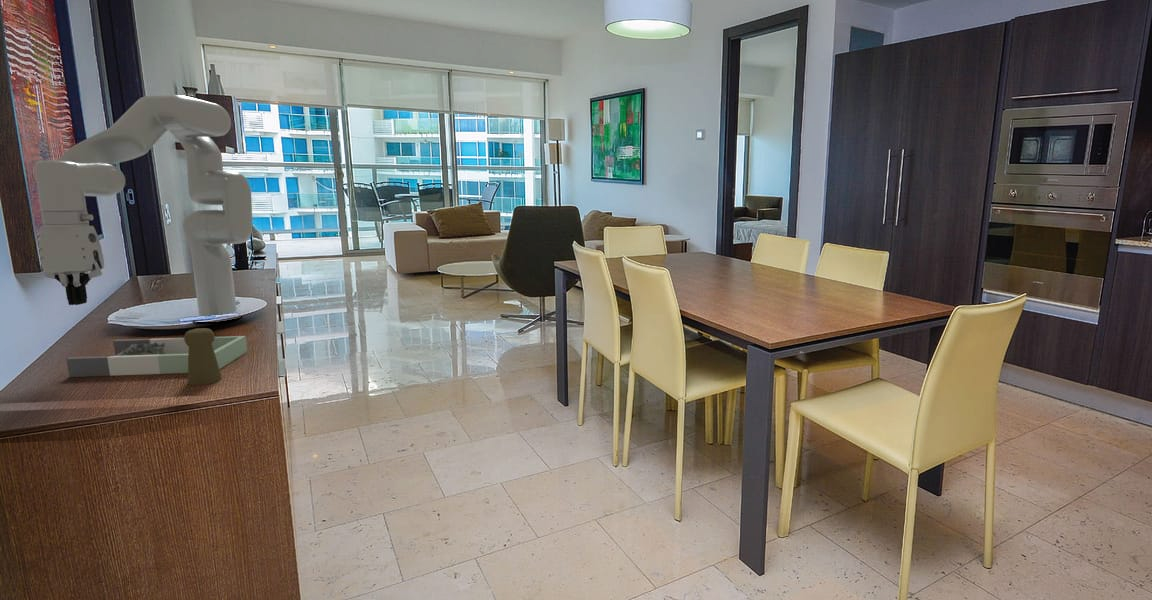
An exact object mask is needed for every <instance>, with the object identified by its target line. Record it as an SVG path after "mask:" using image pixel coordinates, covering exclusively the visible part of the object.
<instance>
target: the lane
mask: <svg viewBox="0 0 1152 600" xmlns="http://www.w3.org/2000/svg"><path fill="white" fill-rule="evenodd" d="M155 342H156V343H157V344H158V345H162V343H165V346H166V347H164V352H165V354H158V355H127V356H113V355H102V356H97V355H96V356H78V357H77V356H70V357H68V358H66V365H67V370H68V376H69V378H79V377H81V378H83V377H85V378H86V377H106V376H108V377H109V376H132V375H133V376H135V375H136V376H137V375H138V376H139V375H163V374H166V375H167V374H188V350H189V346H188V345H186V343H185V341H184V337H167V338H166V337H165V338H161V337H160V338H136V339H135V338H132V339H131V338H129V339H127V338H126V339H115V340H112V343H113V344H112V345H113V350H114V355H118V354H119V353H121V352H122V350H125V349H128V348H129V347H130V346H131V344H138V345H139V344H140V345H142V344H143V343H144V344H148V343H149V344H154V343H155ZM212 345H213V349H214V352H215V356H216V359H217V363H218V366H219V370H221V369H222V368H224V367H226V366H227V365H229V364H230V363H232V362H233V361H235V360H237V359H238V358H240V357H241V356H243V355H245V354H246V353H247V352H248V344H247V336H246V335H234V336H233V335H231V336H229V335H228V336H214V341H213V343H212Z"/></svg>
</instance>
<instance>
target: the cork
mask: <svg viewBox="0 0 1152 600" xmlns="http://www.w3.org/2000/svg"><path fill="white" fill-rule="evenodd" d="M214 337H215V334H214V331H213V330H212V329H210V328H206V327H205V328H204V327H201V328H200V327H199V328H193V329H189V330H187V331H186V332H185V334H184V336H183V338H184V341H185V343H186V345H188V346H189V350H188V373H187V384H188V385H189V386H206V385H210V384H214V383H218V382H219V381H220V382H221V380H222V379H223V377H222V373H221V371H220V370H221V369H219V366H218V363H217V359H216V356H215V352H214V349H213V345H212V343H213V341H214Z"/></svg>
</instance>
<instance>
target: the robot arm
mask: <svg viewBox="0 0 1152 600" xmlns="http://www.w3.org/2000/svg"><path fill="white" fill-rule="evenodd" d="M231 126H232V119H231V116H230V114H229V112H228V111H227V109H225V108H224V107H223V106H221V105H220V104H217V103H215V102H210V101H207V100H203V99H198V98H195V97H191V96H186V95H182V94H181V95H180V94H161V95H160V94H159V95H158V94H155V95H153V94H152V95H151V94H150V95H145V96H142V97H140V98H139V99H137V100H136V101H135V102H134V103H133V104H132V105H131V106H130V107H129V108H128V109H127V110H126V111H125V112H124V113H123V114H122V115H121V116H120V117H119V118H118V119H117V120H116V121H115V122H114V124H112V125H111V126H110V127H109V128H106V129H105V130H102V131H99V132H98V133H96V134H94V135H92V136H90V137H88V138H86V139H84V140H82V141H80V142H78V143H76V144H74V145H73V146H72V147H70V148H69V149H67V150H66V151H65V152H64V153H63V154H62V155H61V156H60V157H59V158H58V159H57V160H39V161H37V162H36V163H35V164H34V175H35V176H34V177H35V183H36V189H37V190H36V191H37V195H38V202H39V209H40V214H41V215H40V216H41V222H42V226H40V228H39V236H38V243H39V244H38V245H39V246H38V248H39V251H38V253H39V259H40V261H39V262H40V265H41V268H42V270H43V271H44V276H45V278H48V279H53V280H56V281H57V282H59V283H60V284H61V286H62V287H63V288H65V293H66V300H67V303H68V306H73V305H74V306H78V305H80V306H81V305H83V304H87V302H88V294H87V287H86V286H87V285H89V282H90V281H91V279H93V278H98V277H102V275H103V272H102V269H104V268H105V261H104V253H103V250H102V246H101V242H100V239H99V236H98V233H97V231H96V228H95V227H94V225H90V221H93V220H94V215H93V214H90V213H88V212H89V211H88V208H87V201H86V197H109V196H110V197H111V196H114V195H116V194H118V193H121V192H122V191H123V189H124V188H125V186H126V177H125V175H124V173H123V172H122V171H121V169H120V168H118V167H117V166H115V165H116V164H118V163H124V162H127V161H132V160H134V159H137V158H140V157H142V156H144V155H146V154H147V153H149V151H150V150H151V148H153V146H154V145H155V144H156V143H157V142H158V141H159V140H160V138H161V137H163V135H164V134H165V133H166V132H169V133H171V134H172V136H173V137H175V138H176V140H178V142H179V143H180V145H181V146H182V148H183V150H184V153H185V158H186V168H187V187H188V195H189V199H191V200H192V202H193V203H196V204H197V205H202V206H223V207H224V209H202V210H201V209H200V210H194V211H192V212H190V213H188V214H187V215H186V216H185V217H184V218H183V219H184V220H183V222H182V223H183V224H182V227H183V228H182V229H183V233H184V236H185V238H186V241H187V243H188V246H189V250H190V256H191V262H192V271H193V279H194V287H195V294H196V302H197V303H196V304H197V310H198V315H199V316H211V315H223V314H229V313H234V312H235V311H236V310H237V311H238V309H237V307H236V305H238V304H240V305H241V302H240V300H237V299H236V291H235V284H234V283H235V282H234V276H233V275H234V274H233V267H232V265H233V264H232V259H231V256H230V253H229V252H228V250H227V249H226V246H224V245H239V244H244V243H246V242H247V241H249V239H250V238H251V236H252V232H253V208H252V207H253V202H252V201H253V200H252V189H251V185H250V183H249V181H248V179H247V177H245V175H244V174H242V173H240V172H238V171H235V170H233V171H232V170H224V168H223V167H224V166H223V156H222V153H221V150H220V149H219V146H218V145H217V144H216V143H215V142H214V140H213V139H212V138H211V137H222V136H225V135H227V133H229V132H230V129H231Z"/></svg>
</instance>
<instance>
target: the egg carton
mask: <svg viewBox="0 0 1152 600" xmlns="http://www.w3.org/2000/svg"><path fill="white" fill-rule="evenodd" d="M164 347H166V346H165V343H162V345H158V344H157V343H156V342H155V343H154V344H149V343H148V344H144V343H143V344H142V345H140V344H139V345H138V344H131V346H130V347H129V348H128V349H125V350H122V352H121V353H119V354H118V355H115V354H113V355H112V356H127V355H158V354H165V352H164Z"/></svg>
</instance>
